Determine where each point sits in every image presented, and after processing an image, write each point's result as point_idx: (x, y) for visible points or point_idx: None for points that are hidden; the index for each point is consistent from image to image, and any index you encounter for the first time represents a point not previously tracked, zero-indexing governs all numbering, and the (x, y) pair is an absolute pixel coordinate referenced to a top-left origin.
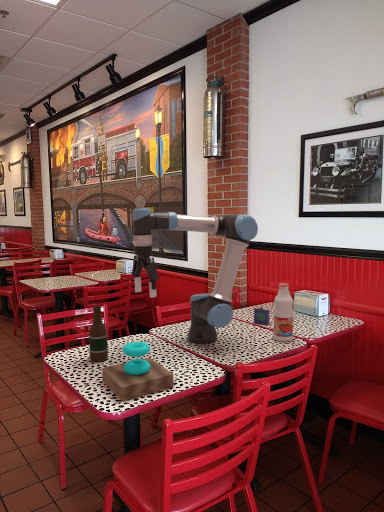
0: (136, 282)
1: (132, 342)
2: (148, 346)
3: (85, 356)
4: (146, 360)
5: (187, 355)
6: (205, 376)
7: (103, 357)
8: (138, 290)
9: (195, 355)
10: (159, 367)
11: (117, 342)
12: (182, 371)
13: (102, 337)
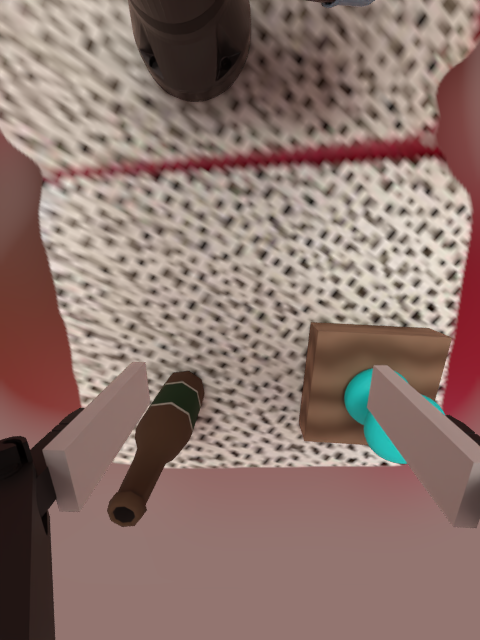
0: (108, 453)
1: (383, 435)
2: (438, 409)
3: (150, 403)
4: (332, 347)
5: (294, 187)
6: (441, 234)
7: (201, 389)
8: (142, 390)
9: (310, 165)
10: (394, 343)
11: (87, 304)
12: (375, 265)
13: (190, 422)
